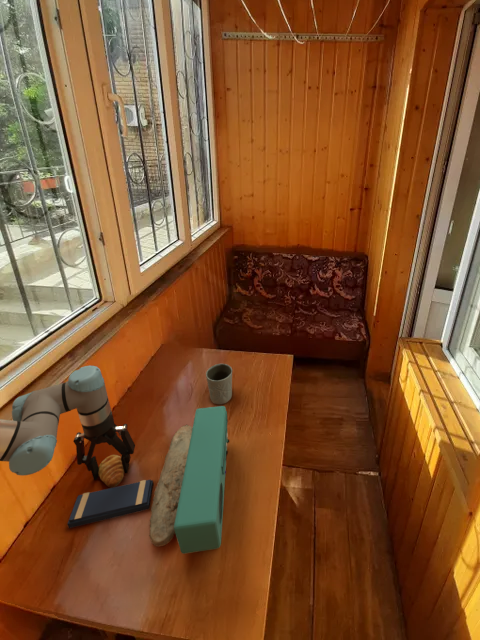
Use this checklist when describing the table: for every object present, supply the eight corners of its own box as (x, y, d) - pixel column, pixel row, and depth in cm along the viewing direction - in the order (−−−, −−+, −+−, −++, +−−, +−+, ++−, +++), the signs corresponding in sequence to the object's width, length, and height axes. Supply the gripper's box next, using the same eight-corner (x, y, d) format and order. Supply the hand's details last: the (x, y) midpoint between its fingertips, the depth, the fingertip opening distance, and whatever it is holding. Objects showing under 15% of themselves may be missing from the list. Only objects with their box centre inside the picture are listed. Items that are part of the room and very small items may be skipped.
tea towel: (68, 528, 82) (66, 522, 81) (79, 500, 89) (76, 494, 88) (149, 509, 87) (147, 503, 86) (153, 484, 93) (152, 477, 92)
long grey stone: (202, 431, 111) (173, 435, 110) (199, 419, 110) (171, 423, 109) (183, 545, 78) (142, 553, 77) (179, 530, 77) (137, 538, 76)
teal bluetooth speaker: (224, 561, 76) (219, 521, 71) (180, 568, 74) (172, 528, 69) (231, 437, 107) (228, 404, 102) (200, 441, 106) (195, 407, 101)
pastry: (130, 478, 94) (127, 470, 93) (105, 495, 90) (102, 486, 89) (120, 457, 101) (118, 448, 99) (97, 471, 96) (94, 463, 95)
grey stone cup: (207, 406, 120) (204, 382, 116) (209, 387, 129) (207, 364, 125) (233, 404, 121) (231, 379, 117) (234, 385, 131) (232, 362, 127)
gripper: (138, 399, 94) (150, 453, 102) (61, 412, 89) (79, 468, 97) (132, 420, 87) (145, 476, 95) (48, 435, 82) (69, 493, 90)
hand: (112, 472), depth 96 cm, fingers closed on pastry, 8 cm apart
